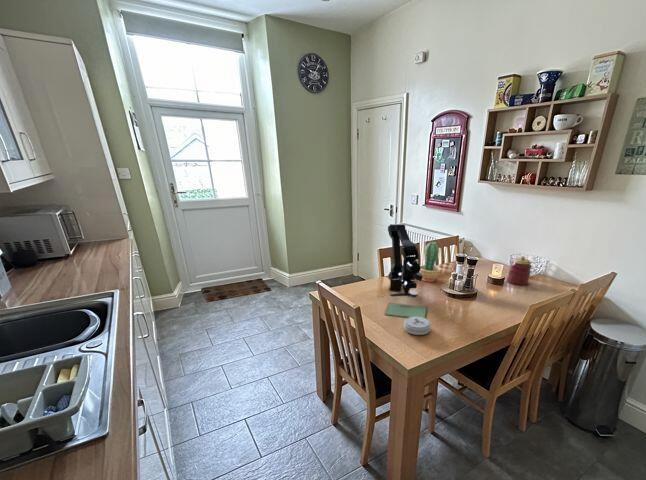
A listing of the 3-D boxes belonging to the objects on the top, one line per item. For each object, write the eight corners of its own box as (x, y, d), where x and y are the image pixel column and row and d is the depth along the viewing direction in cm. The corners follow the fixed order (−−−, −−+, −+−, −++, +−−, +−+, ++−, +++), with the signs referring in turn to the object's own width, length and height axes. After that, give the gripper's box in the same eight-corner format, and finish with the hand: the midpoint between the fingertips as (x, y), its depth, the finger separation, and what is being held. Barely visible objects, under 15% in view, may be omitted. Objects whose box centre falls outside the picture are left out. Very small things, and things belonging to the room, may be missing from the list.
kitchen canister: (531, 285, 211) (537, 259, 204) (511, 285, 212) (516, 258, 204) (523, 278, 223) (528, 253, 216) (504, 278, 223) (509, 253, 216)
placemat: (385, 314, 168) (385, 314, 168) (389, 303, 181) (389, 303, 181) (424, 319, 165) (424, 318, 164) (426, 307, 177) (426, 307, 177)
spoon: (391, 298, 181) (391, 295, 180) (389, 294, 185) (389, 291, 185) (418, 297, 183) (418, 294, 183) (416, 294, 187) (416, 291, 187)
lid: (434, 335, 150) (435, 325, 148) (408, 337, 148) (409, 327, 145) (424, 322, 161) (425, 313, 159) (399, 324, 159) (400, 315, 157)
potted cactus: (444, 279, 219) (449, 242, 209) (432, 285, 209) (436, 246, 198) (424, 273, 228) (428, 238, 218) (412, 279, 218) (415, 242, 208)
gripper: (427, 273, 170) (424, 300, 177) (417, 262, 187) (415, 287, 194) (406, 273, 169) (404, 301, 175) (398, 262, 186) (397, 288, 192)
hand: (406, 294), depth 184 cm, fingers closed on spoon, 2 cm apart
